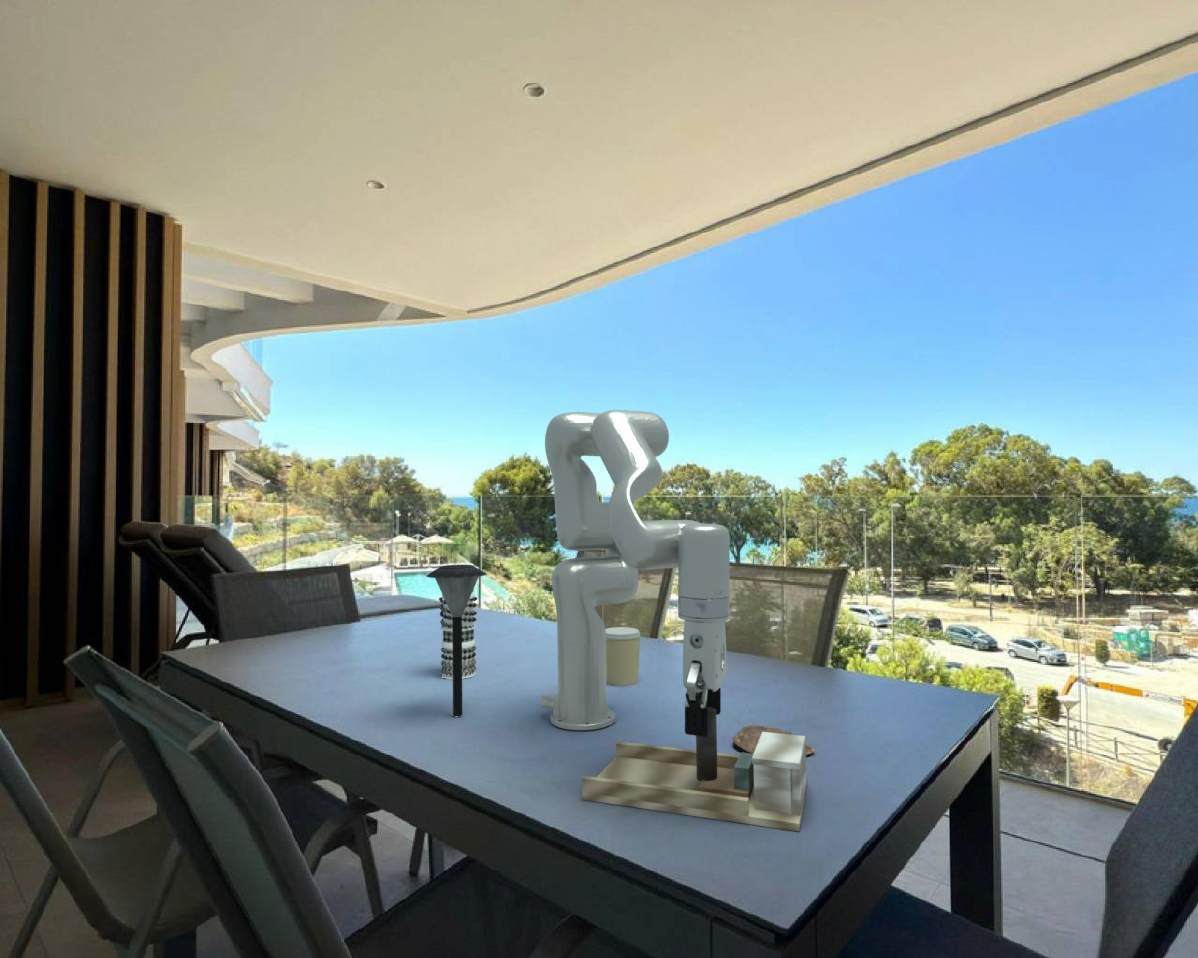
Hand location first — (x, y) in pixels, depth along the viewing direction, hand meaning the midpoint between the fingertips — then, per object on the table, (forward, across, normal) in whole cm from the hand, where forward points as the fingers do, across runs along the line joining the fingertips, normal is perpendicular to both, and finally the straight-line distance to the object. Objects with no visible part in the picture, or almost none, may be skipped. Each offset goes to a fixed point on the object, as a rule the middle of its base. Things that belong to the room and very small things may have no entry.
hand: (703, 723), depth 102 cm
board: (+10, -1, +1) cm, 10 cm away
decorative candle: (+13, +47, +71) cm, 86 cm away
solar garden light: (+12, +19, +54) cm, 58 cm away
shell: (+11, +21, -7) cm, 25 cm away
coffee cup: (+12, +54, +31) cm, 63 cm away
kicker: (+8, -1, -3) cm, 9 cm away
